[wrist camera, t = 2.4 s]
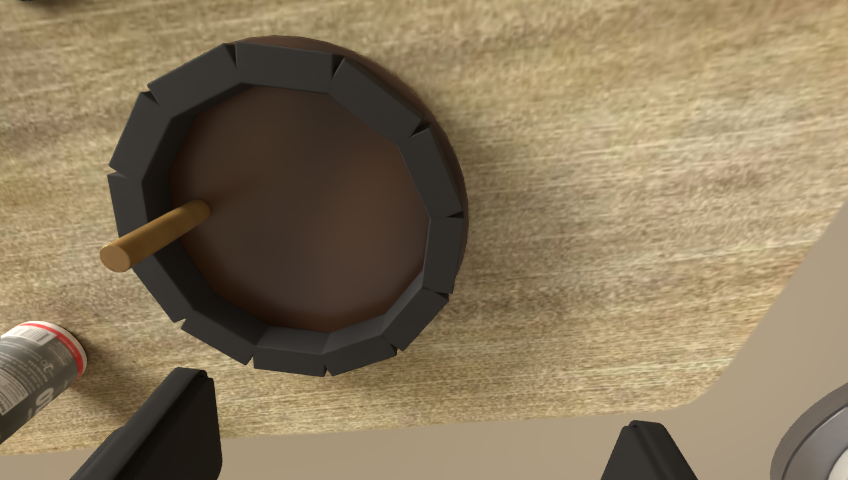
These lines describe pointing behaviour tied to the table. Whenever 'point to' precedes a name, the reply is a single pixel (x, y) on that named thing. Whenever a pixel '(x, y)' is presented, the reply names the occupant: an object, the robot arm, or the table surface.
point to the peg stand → (295, 205)
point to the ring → (182, 281)
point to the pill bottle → (35, 371)
